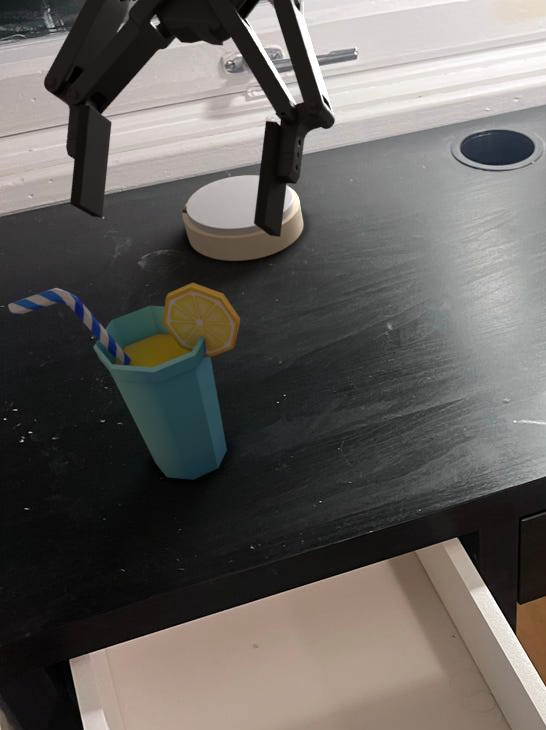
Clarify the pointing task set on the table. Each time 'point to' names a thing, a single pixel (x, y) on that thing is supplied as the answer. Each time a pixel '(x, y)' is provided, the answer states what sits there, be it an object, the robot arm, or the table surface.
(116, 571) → the table surface
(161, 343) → the cup
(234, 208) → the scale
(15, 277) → the table surface
